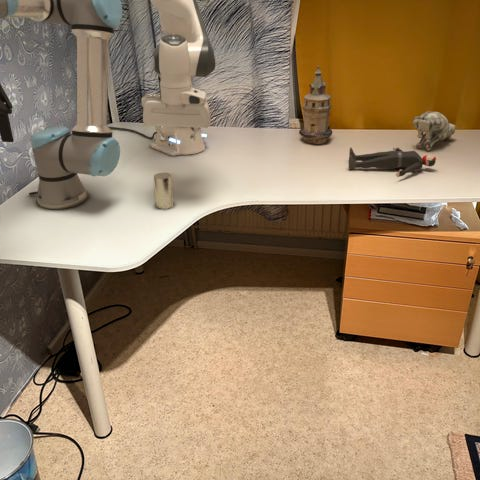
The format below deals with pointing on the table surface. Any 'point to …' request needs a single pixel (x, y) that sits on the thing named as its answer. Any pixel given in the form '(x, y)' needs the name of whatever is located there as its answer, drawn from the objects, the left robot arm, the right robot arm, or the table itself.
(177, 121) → the right robot arm
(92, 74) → the left robot arm
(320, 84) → the miniature building
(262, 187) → the table surface
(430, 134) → the figurine
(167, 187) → the canister
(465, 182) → the table surface
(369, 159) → the toy
